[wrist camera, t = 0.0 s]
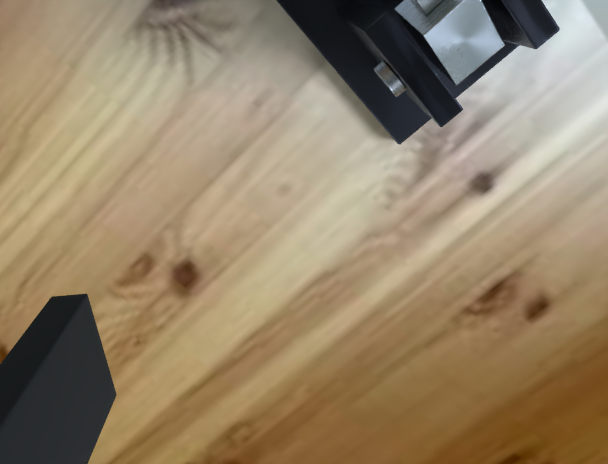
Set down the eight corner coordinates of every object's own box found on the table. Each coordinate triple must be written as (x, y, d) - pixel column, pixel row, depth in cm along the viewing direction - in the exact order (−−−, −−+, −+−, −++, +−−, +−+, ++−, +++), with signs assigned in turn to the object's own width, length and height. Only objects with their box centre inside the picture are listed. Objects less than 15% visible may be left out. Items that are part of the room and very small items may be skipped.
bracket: (262, -18, 30) (241, -17, 18) (390, -148, 28) (472, -254, 15) (395, 140, 34) (456, 232, 22) (518, 37, 32) (667, 74, 19)
